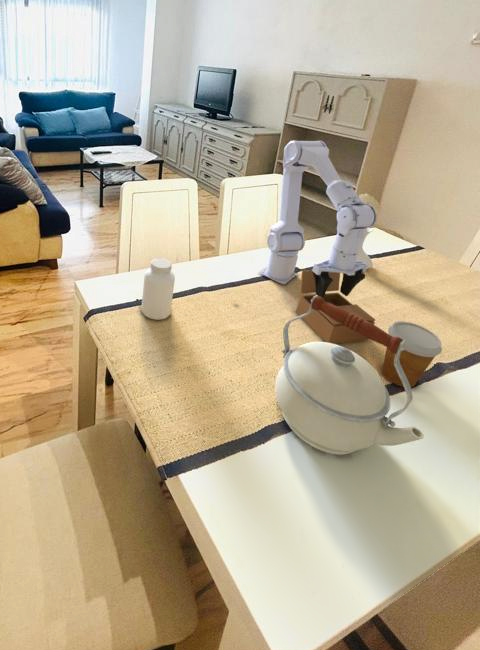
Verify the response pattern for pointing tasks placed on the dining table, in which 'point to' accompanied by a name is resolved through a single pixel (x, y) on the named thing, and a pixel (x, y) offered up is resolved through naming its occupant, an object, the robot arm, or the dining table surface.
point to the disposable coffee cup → (411, 352)
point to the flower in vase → (362, 255)
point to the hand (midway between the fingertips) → (331, 294)
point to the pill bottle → (158, 289)
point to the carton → (328, 326)
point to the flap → (309, 282)
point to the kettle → (340, 390)
